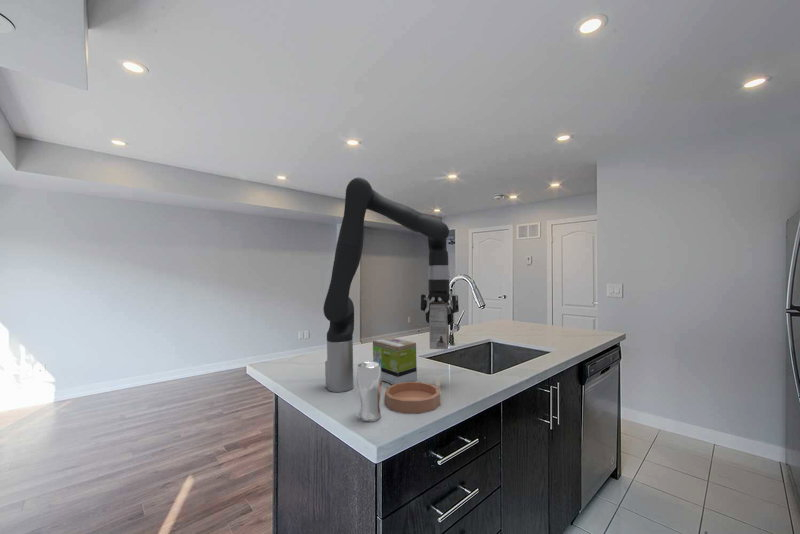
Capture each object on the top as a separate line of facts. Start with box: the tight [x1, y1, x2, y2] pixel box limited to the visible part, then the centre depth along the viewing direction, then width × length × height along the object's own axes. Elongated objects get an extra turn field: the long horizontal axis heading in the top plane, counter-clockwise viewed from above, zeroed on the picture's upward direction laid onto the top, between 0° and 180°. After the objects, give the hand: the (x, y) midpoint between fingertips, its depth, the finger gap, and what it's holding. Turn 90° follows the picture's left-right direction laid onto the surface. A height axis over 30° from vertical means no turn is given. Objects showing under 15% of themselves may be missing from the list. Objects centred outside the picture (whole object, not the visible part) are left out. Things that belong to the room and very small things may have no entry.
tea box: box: [372, 336, 418, 385], centre depth 128 cm, size 15×10×15 cm
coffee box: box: [428, 300, 450, 350], centre depth 119 cm, size 9×6×16 cm
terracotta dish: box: [384, 381, 441, 414], centre depth 105 cm, size 17×17×4 cm
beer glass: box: [356, 360, 383, 423], centre depth 95 cm, size 7×7×15 cm
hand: (439, 323), depth 119 cm, fingers closed on coffee box, 8 cm apart
